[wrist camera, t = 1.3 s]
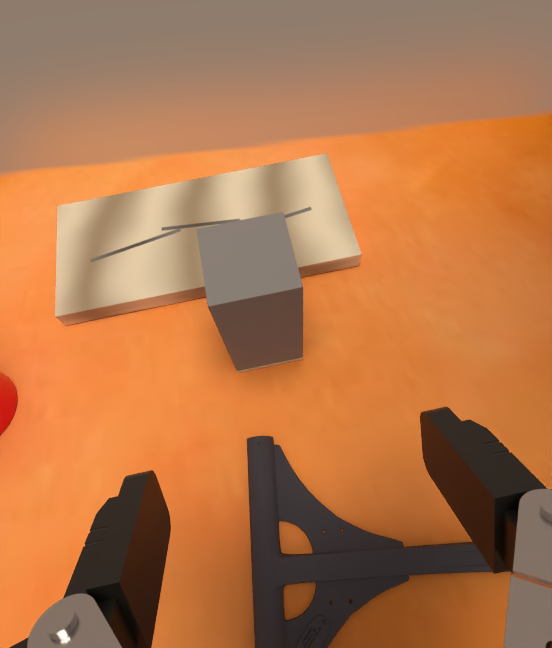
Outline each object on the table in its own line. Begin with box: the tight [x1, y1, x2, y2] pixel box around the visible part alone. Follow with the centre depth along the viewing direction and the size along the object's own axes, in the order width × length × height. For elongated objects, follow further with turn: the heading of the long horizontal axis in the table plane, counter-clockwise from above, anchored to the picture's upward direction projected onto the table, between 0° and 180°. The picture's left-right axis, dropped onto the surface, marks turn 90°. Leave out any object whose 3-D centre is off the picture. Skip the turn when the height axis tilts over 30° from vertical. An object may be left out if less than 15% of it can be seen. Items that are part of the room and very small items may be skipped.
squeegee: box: [247, 436, 510, 648], centre depth 23 cm, size 14×15×3 cm
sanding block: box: [196, 212, 303, 373], centre depth 25 cm, size 5×5×10 cm
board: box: [55, 154, 362, 325], centre depth 32 cm, size 22×10×2 cm, turn 101°
